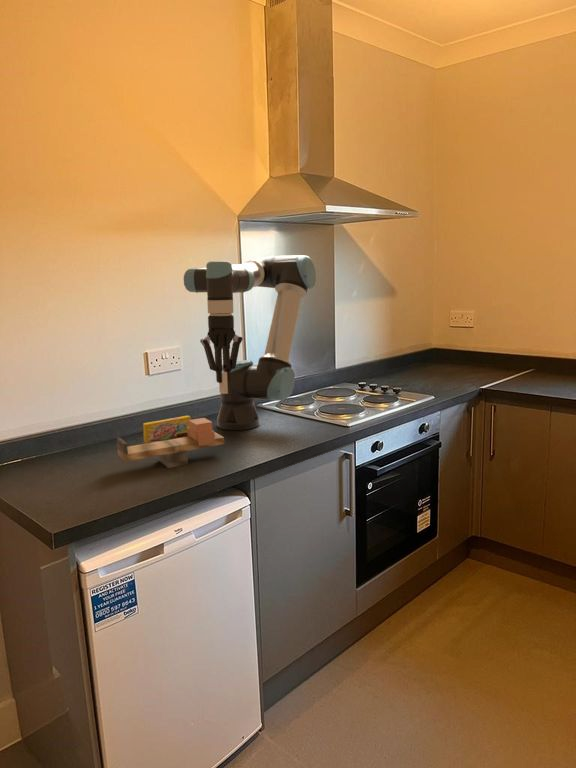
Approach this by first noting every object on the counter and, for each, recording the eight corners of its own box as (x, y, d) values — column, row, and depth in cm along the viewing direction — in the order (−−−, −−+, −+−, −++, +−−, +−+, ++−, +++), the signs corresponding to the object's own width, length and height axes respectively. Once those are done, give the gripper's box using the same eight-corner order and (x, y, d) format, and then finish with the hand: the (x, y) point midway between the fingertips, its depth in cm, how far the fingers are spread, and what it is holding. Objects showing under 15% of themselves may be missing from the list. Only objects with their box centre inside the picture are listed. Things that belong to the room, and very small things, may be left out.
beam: (215, 450, 185) (213, 422, 183) (225, 457, 178) (224, 428, 177) (118, 467, 170) (116, 437, 169) (126, 476, 164) (123, 444, 162)
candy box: (146, 449, 187) (144, 424, 186) (143, 448, 189) (141, 423, 187) (192, 440, 197) (190, 415, 195) (188, 438, 199) (187, 414, 197)
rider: (203, 436, 183) (202, 416, 182) (214, 443, 175) (214, 423, 174) (187, 438, 180) (186, 419, 179) (199, 446, 173) (198, 425, 172)
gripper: (235, 312, 181) (237, 388, 185) (195, 314, 174) (198, 393, 179) (246, 314, 174) (248, 392, 179) (205, 316, 168) (208, 397, 173)
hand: (223, 392), depth 179 cm, fingers closed
